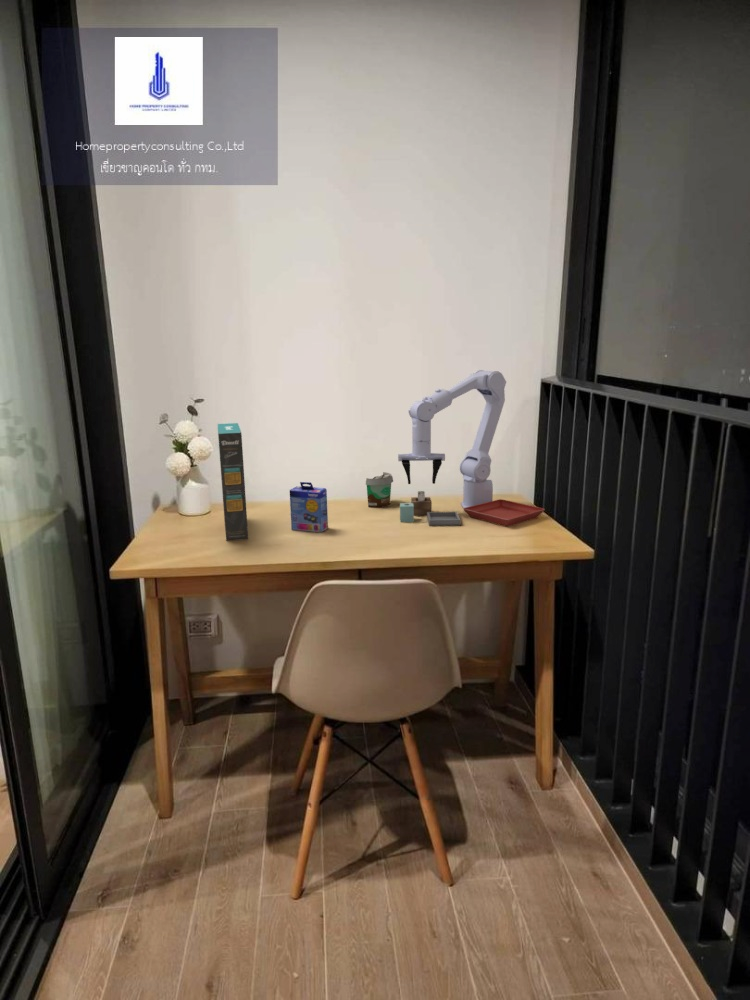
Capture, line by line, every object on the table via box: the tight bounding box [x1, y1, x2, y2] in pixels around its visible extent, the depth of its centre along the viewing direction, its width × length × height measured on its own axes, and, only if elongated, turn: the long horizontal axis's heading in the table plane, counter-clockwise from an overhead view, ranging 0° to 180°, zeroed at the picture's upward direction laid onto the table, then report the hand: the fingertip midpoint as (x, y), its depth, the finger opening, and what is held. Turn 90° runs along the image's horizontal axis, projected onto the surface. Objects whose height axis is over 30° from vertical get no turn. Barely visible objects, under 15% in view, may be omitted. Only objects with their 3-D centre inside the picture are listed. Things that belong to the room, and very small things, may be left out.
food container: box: [365, 471, 394, 509], centre depth 213 cm, size 12×6×10 cm, turn 150°
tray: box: [426, 511, 462, 527], centre depth 193 cm, size 9×9×2 cm
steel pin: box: [417, 490, 426, 501], centre depth 202 cm, size 2×2×7 cm
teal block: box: [399, 502, 415, 523], centre depth 195 cm, size 4×4×5 cm
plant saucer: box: [462, 498, 545, 528], centre depth 197 cm, size 18×18×3 cm
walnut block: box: [410, 496, 433, 517], centre depth 203 cm, size 6×6×4 cm
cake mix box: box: [216, 422, 249, 542], centre depth 185 cm, size 22×6×30 cm, turn 14°
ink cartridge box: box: [289, 481, 329, 533], centre depth 186 cm, size 10×6×14 cm, turn 72°
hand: (421, 483), depth 201 cm, fingers open, 7 cm apart
